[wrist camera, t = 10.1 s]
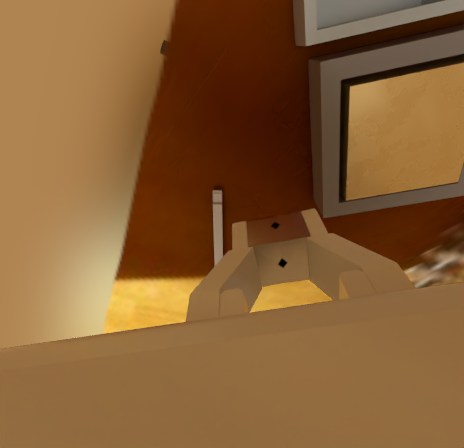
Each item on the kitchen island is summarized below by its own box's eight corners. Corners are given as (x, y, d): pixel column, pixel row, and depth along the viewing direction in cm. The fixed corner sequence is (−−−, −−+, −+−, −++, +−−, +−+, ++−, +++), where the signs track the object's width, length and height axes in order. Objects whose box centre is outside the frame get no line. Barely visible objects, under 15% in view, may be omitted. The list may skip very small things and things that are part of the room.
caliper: (224, 310, 42) (224, 350, 36) (217, 310, 41) (216, 350, 36) (222, 188, 30) (221, 220, 25) (212, 188, 30) (209, 220, 25)
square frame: (444, 177, 30) (471, 194, 27) (313, 199, 31) (323, 218, 28) (482, 19, 22) (526, 16, 19) (308, 58, 24) (320, 62, 21)
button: (431, 165, 29) (458, 181, 25) (333, 182, 30) (346, 200, 26) (455, 54, 23) (492, 56, 20) (333, 80, 24) (349, 86, 21)
